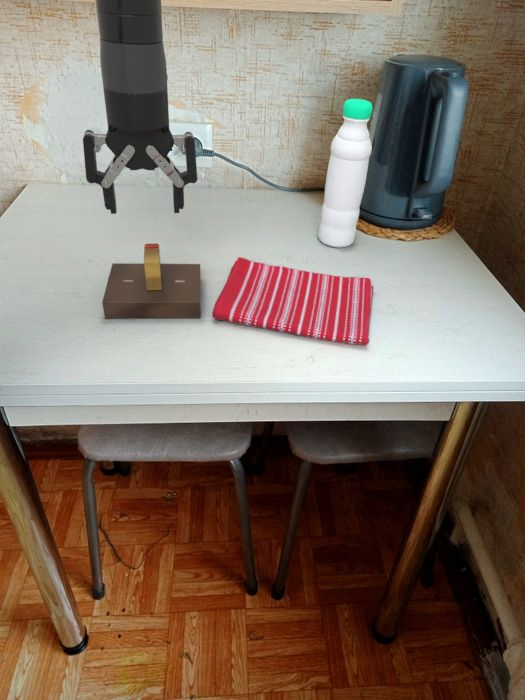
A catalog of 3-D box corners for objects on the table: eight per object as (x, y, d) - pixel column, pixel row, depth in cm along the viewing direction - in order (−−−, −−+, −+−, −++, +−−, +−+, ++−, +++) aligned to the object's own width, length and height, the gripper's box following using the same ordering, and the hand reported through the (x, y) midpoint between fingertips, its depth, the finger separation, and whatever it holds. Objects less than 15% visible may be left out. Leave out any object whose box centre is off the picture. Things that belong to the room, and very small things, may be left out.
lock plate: (104, 319, 75) (101, 301, 73) (114, 279, 83) (112, 262, 81) (200, 318, 76) (200, 301, 74) (200, 279, 85) (200, 262, 83)
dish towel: (237, 266, 89) (237, 253, 87) (373, 289, 86) (376, 275, 84) (208, 322, 76) (208, 308, 74) (367, 351, 73) (370, 336, 71)
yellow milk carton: (161, 290, 76) (159, 259, 73) (146, 290, 76) (143, 259, 73) (161, 272, 80) (159, 242, 77) (147, 273, 80) (144, 243, 76)
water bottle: (312, 243, 97) (332, 102, 81) (323, 228, 102) (343, 93, 86) (348, 252, 95) (375, 109, 79) (357, 236, 100) (384, 100, 84)
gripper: (69, 88, 56) (90, 224, 67) (198, 92, 59) (199, 222, 69) (75, 73, 62) (94, 200, 72) (192, 77, 65) (195, 199, 75)
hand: (145, 211), depth 71 cm, fingers open, 8 cm apart
